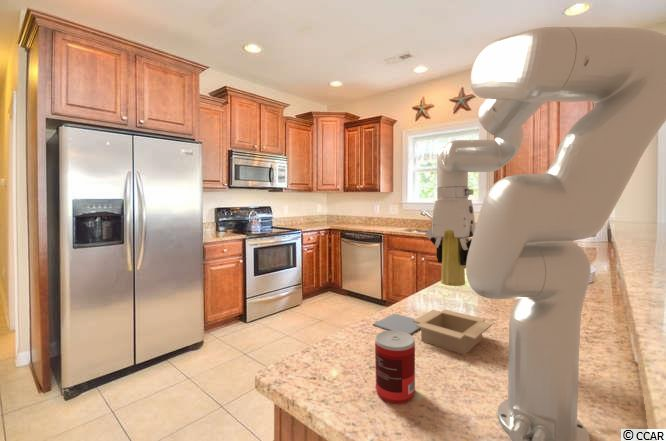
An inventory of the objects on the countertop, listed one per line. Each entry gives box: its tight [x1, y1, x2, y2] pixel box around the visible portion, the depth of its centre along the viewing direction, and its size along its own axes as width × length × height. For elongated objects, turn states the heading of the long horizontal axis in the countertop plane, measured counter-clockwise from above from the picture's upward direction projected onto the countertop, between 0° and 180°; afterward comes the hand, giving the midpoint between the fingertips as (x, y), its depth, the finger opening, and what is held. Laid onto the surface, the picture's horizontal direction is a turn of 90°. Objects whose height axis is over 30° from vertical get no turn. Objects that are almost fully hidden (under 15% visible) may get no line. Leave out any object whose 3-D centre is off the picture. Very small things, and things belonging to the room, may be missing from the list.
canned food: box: [374, 330, 416, 405], centre depth 63 cm, size 8×8×11 cm
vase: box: [440, 230, 466, 287], centre depth 84 cm, size 6×6×14 cm
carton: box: [413, 309, 493, 356], centre depth 85 cm, size 17×17×5 cm
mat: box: [372, 313, 421, 336], centre depth 97 cm, size 12×12×1 cm
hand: (452, 262), depth 84 cm, fingers closed on vase, 5 cm apart
